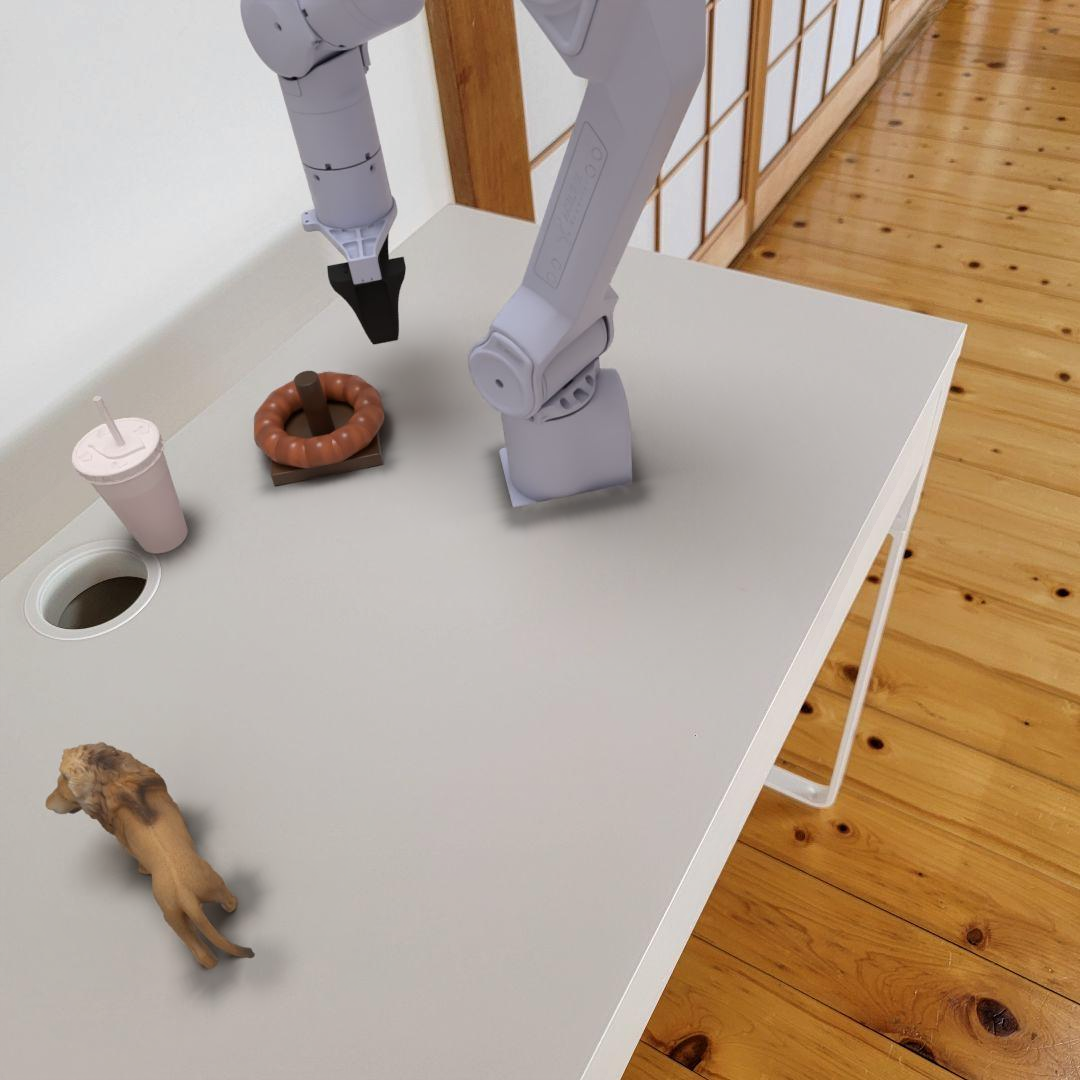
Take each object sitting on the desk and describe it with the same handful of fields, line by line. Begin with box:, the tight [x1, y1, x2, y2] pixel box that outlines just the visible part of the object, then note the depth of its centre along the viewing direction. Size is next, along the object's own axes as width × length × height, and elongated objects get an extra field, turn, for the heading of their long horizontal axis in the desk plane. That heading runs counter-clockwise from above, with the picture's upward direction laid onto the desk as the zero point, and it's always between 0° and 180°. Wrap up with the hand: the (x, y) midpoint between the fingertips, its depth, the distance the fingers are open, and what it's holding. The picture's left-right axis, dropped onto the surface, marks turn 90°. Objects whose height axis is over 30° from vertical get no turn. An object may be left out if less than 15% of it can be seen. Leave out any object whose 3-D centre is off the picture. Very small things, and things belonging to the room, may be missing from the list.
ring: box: [253, 371, 385, 469], centre depth 83 cm, size 11×11×2 cm
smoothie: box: [71, 395, 189, 555], centre depth 74 cm, size 6×6×14 cm
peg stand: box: [270, 370, 384, 486], centre depth 82 cm, size 9×9×7 cm
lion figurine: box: [45, 741, 256, 970], centre depth 55 cm, size 15×5×9 cm, turn 50°
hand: (380, 313), depth 81 cm, fingers open, 7 cm apart
